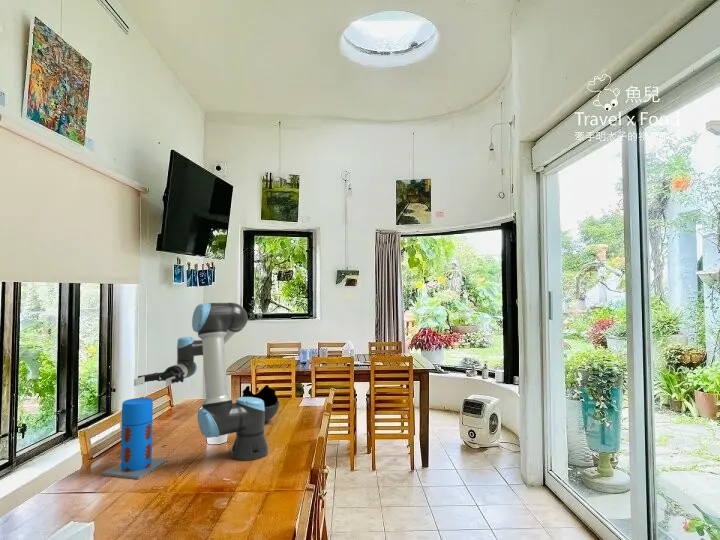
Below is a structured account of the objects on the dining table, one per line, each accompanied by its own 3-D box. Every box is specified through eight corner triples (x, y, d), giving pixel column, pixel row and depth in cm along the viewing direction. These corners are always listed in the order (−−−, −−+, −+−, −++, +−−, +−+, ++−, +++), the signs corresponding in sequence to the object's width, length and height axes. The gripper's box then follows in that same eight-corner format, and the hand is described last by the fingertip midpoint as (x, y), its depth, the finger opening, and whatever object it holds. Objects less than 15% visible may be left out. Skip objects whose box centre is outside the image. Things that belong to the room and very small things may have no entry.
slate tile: (167, 462, 175) (167, 460, 175) (138, 479, 159) (138, 476, 159) (133, 459, 179) (133, 456, 179) (102, 475, 163) (102, 472, 163)
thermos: (138, 472, 163) (139, 405, 164) (113, 470, 165) (115, 403, 166) (157, 461, 173) (158, 398, 175) (134, 459, 176) (135, 396, 177)
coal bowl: (287, 420, 231) (287, 384, 231) (259, 431, 214) (259, 392, 215) (260, 414, 241) (260, 380, 242) (231, 424, 224) (232, 387, 225)
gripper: (201, 381, 201) (179, 391, 179) (149, 381, 202) (121, 391, 181) (201, 365, 201) (180, 373, 180) (149, 365, 202) (122, 373, 181)
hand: (150, 382), depth 180 cm, fingers open, 13 cm apart
